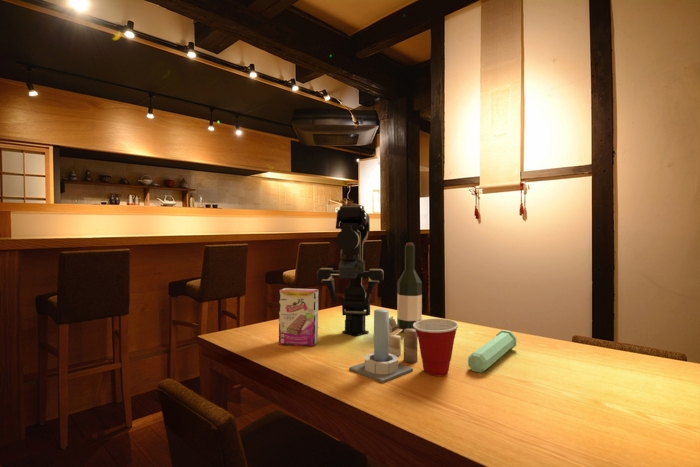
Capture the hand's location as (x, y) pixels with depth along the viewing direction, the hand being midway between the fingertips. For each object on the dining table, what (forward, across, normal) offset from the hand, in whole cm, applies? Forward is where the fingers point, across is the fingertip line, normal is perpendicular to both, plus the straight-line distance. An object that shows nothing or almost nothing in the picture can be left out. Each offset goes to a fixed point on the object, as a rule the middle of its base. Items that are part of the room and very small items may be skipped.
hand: (350, 304), depth 109 cm
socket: (+13, +9, -14) cm, 22 cm away
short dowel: (+13, +12, -2) cm, 18 cm away
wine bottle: (+13, +18, +24) cm, 33 cm away
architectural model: (+14, +12, +12) cm, 21 cm away
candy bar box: (+13, -16, +5) cm, 21 cm away
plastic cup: (+14, +22, -14) cm, 29 cm away
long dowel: (+13, +9, -14) cm, 21 cm away
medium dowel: (+13, +17, -6) cm, 22 cm away
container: (+14, +38, -2) cm, 41 cm away
